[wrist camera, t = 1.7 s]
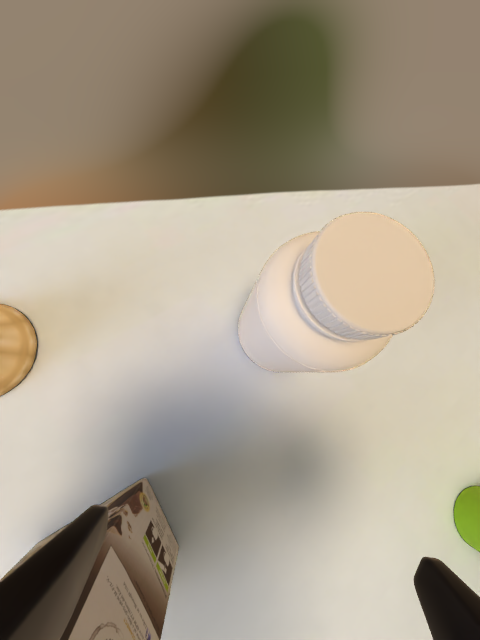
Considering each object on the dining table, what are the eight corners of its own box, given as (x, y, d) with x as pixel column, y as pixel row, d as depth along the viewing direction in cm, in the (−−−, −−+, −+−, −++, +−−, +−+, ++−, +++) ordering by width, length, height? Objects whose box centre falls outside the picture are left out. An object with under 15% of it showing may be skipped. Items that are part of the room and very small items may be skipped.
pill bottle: (306, 286, 26) (434, 176, 11) (323, 365, 24) (495, 358, 10) (230, 295, 25) (259, 186, 10) (243, 378, 23) (299, 394, 8)
